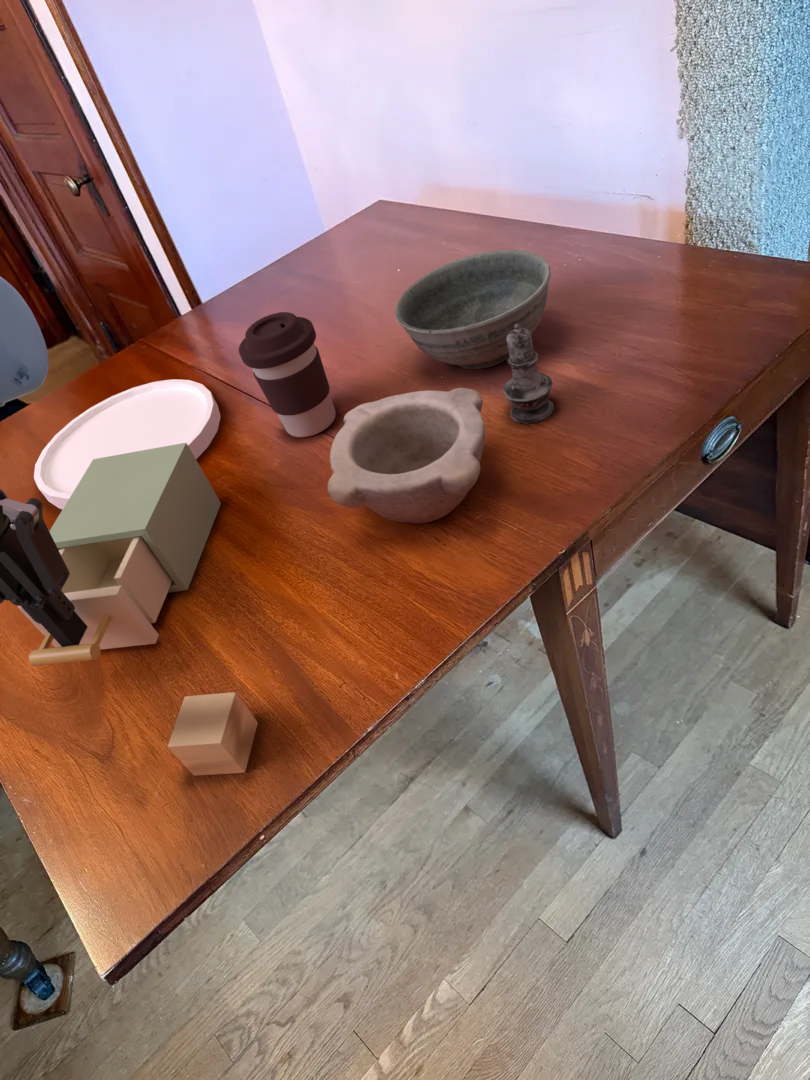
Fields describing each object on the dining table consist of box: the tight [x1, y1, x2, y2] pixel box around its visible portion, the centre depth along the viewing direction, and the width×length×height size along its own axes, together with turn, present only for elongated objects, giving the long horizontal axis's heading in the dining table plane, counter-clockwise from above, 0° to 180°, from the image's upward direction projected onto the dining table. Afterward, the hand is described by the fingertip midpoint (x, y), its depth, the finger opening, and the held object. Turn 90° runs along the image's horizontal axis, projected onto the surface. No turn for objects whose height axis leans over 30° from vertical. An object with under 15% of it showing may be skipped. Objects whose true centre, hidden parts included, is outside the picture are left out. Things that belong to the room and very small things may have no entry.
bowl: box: [394, 249, 552, 370], centre depth 101 cm, size 21×21×10 cm
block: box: [167, 691, 258, 777], centre depth 65 cm, size 5×5×5 cm
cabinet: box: [49, 443, 222, 594], centre depth 88 cm, size 15×13×10 cm
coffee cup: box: [238, 311, 336, 438], centre depth 98 cm, size 10×10×15 cm
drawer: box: [17, 536, 173, 667], centre depth 80 cm, size 19×12×8 cm, turn 174°
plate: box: [33, 378, 221, 510], centre depth 110 cm, size 28×28×2 cm
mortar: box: [326, 387, 486, 525], centre depth 82 cm, size 17×17×9 cm
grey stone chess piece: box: [502, 323, 555, 425], centre depth 87 cm, size 6×6×12 cm
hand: (76, 637), depth 75 cm, fingers closed
